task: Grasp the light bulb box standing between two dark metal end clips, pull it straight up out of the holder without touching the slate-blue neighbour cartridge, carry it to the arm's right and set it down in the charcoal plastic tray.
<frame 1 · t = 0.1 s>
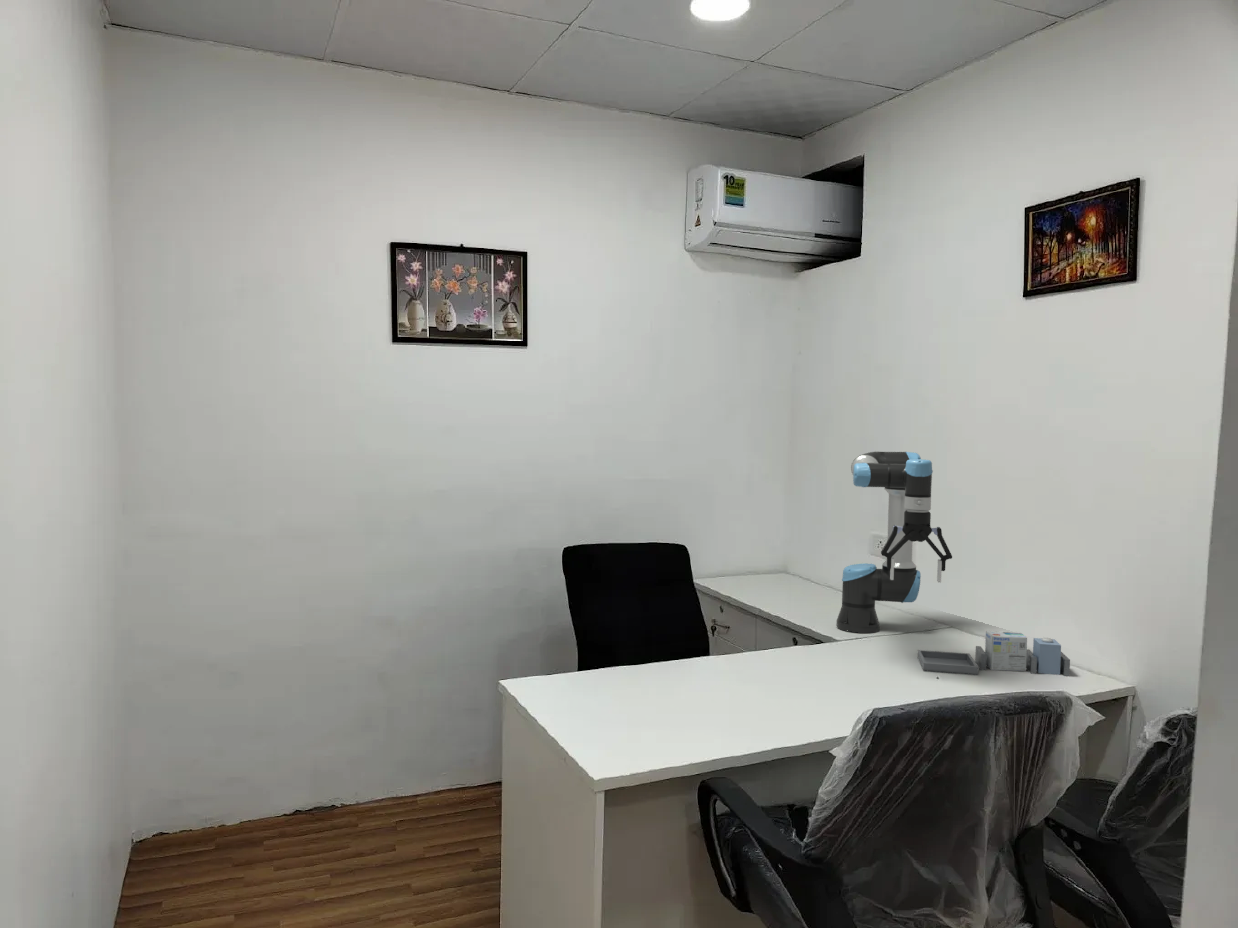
hand: (915, 580, 254), 28 cm above the table, fingers open, 13 cm apart
tray: (946, 665, 261), on the table
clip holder: (1004, 667, 260), on the table
neighbour cartridge: (1045, 670, 258), on the table
light bulb box: (1004, 668, 261), on the table
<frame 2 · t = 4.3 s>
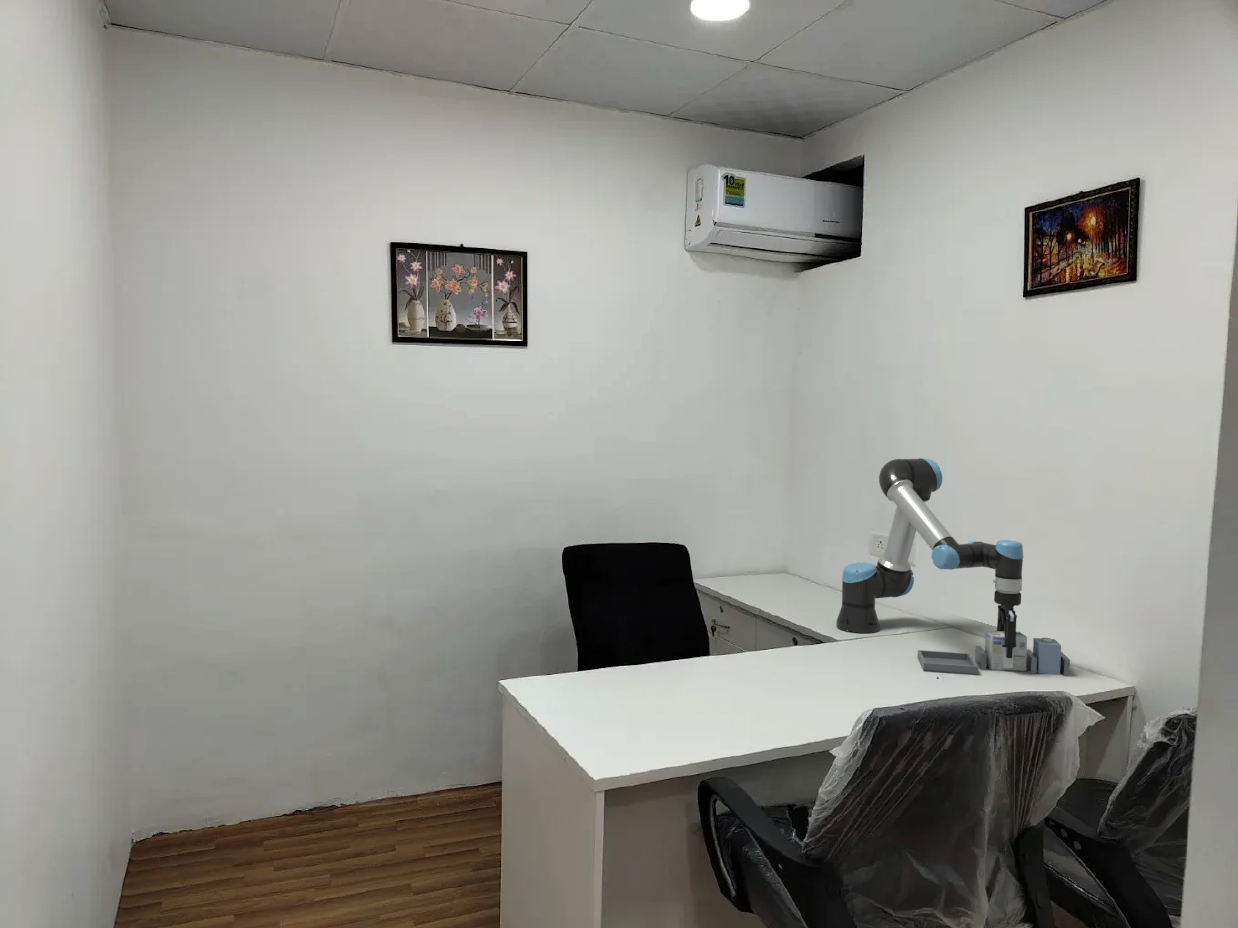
hand: (1005, 663, 260), 1 cm above the table, fingers closed on light bulb box, 7 cm apart
light bulb box: (1004, 668, 260), on the table, touching gripper
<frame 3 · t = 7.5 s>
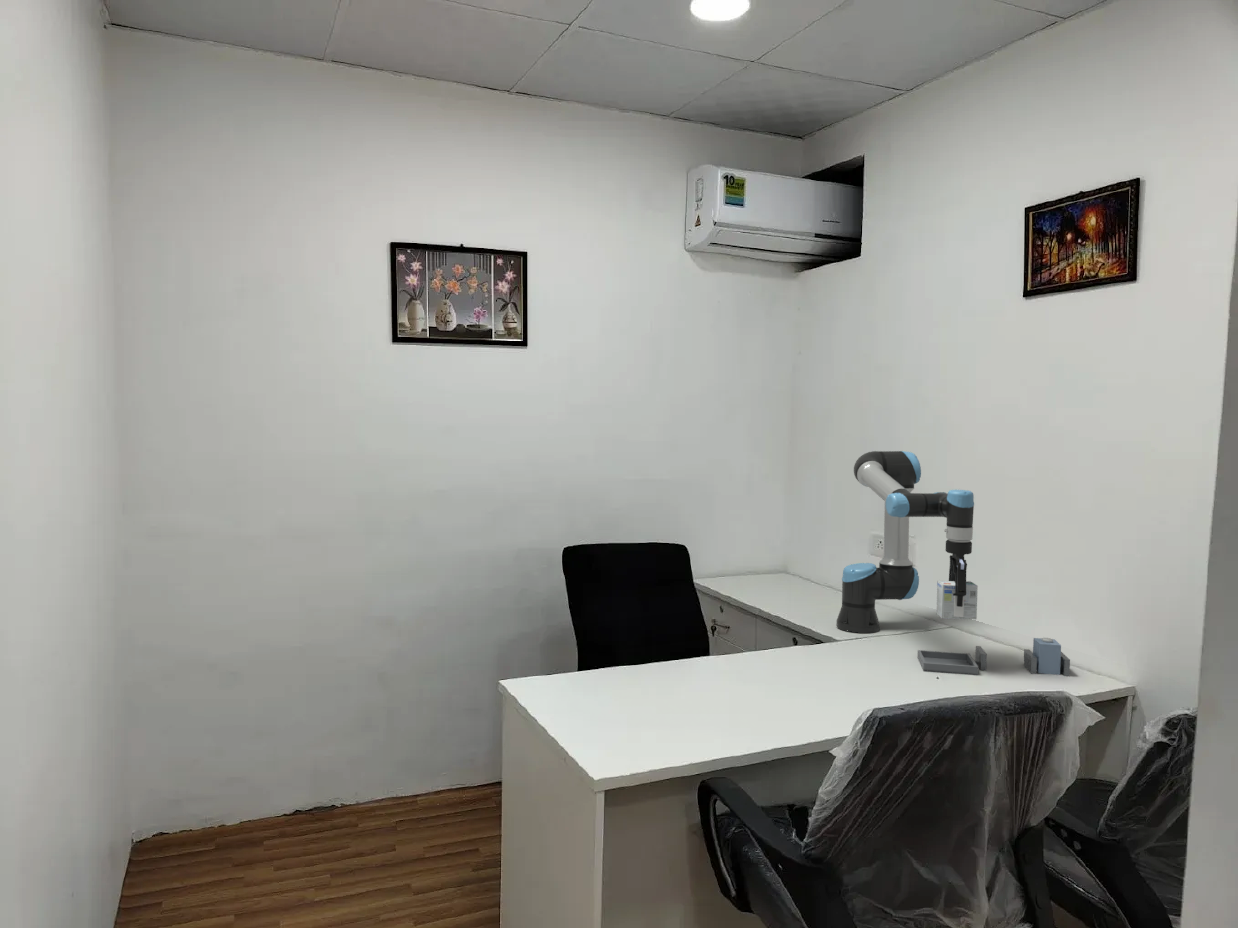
hand: (956, 613, 261), 17 cm above the table, fingers closed on light bulb box, 7 cm apart
light bulb box: (955, 617, 261), point 15 cm above the table, touching gripper
when the fingers open (3 cm above the table, at t = 10.8 s): light bulb box drops 1 cm, resting on tray.
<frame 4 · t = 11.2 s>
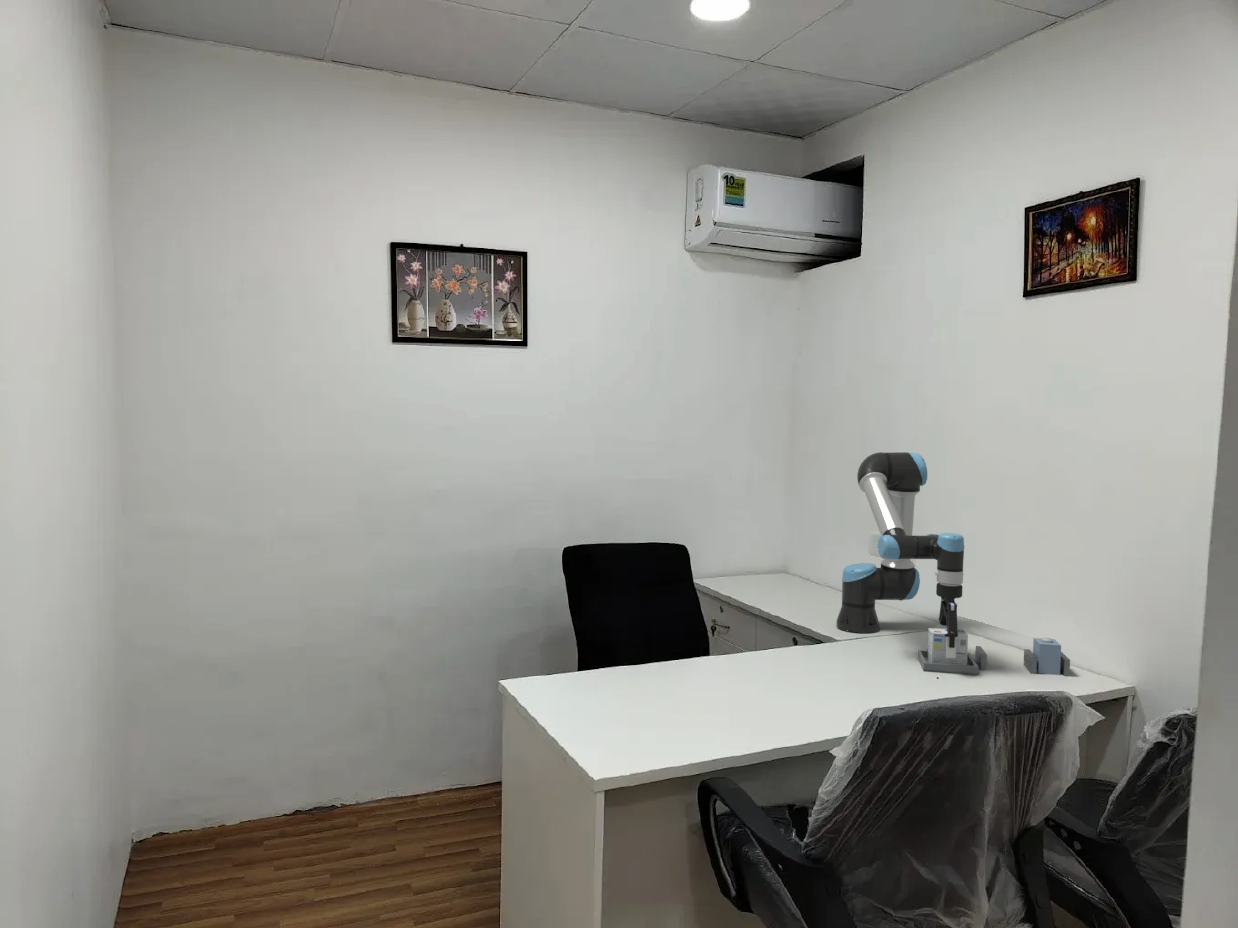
hand: (947, 651, 261), 5 cm above the table, fingers open, 13 cm apart
light bulb box: (946, 665, 261), resting on tray
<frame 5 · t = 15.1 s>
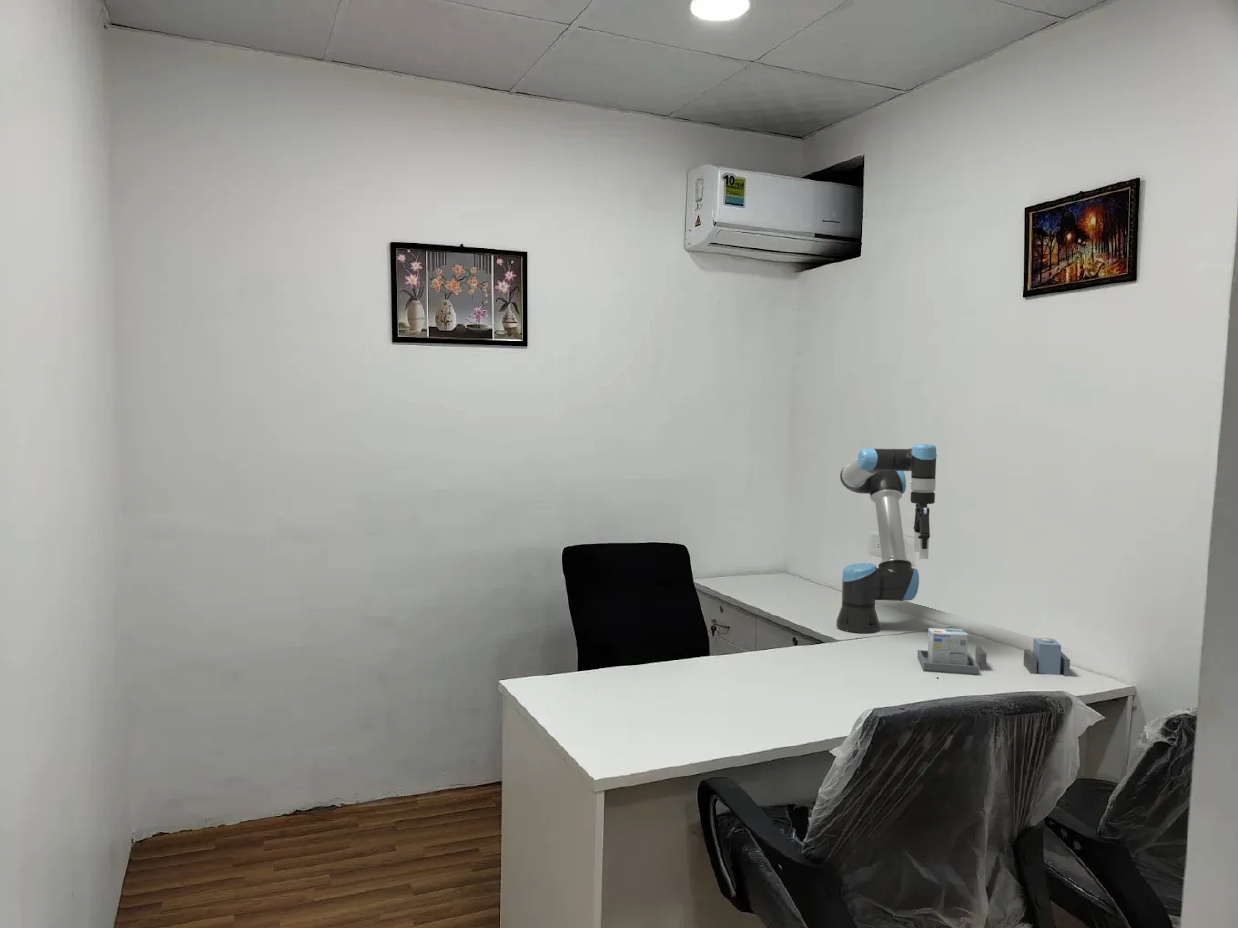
hand: (920, 555, 277), 32 cm above the table, fingers open, 13 cm apart
nothing on the table moved.
at the end: light bulb box inside the target area on the tray (0.2 cm from its centre), point 0.3 cm above the tray's base; light bulb box tilted 0°; the gripper is holding nothing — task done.
